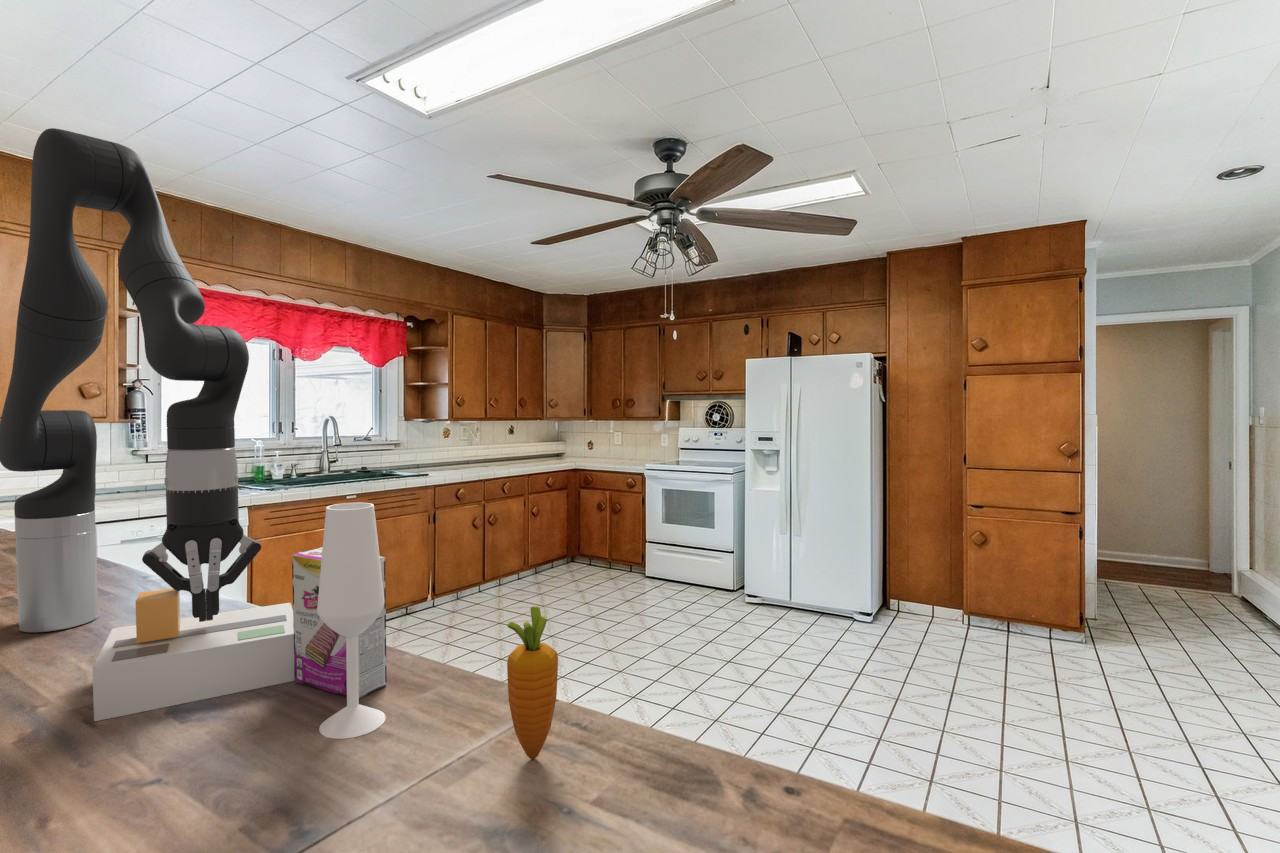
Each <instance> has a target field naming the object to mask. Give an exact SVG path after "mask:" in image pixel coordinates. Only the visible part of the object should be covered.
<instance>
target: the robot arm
mask: <svg viewBox="0 0 1280 853" xmlns="http://www.w3.org/2000/svg"><path fill="white" fill-rule="evenodd" d="M33 148H34V150H33V154H32V163H31V178H30V179H31V180H30V181H31V185H30V187H31V188H30V214H29V215H30V216H29V217H30V218H29V220H30V222H29V223H30V224H29V236H28V237H29V238H28V239H29V240H28V245H27V247H28V248H27V256H26V262H25V269H24V274H23V280H22V285H21V290H20V296H19V304H18V311H17V318H16V328H15V340H14V343H15V344H14V354H13V361H12V362H13V363H12V370H11V375H10V379H9V384H8V388H7V392H6V396H5V401H4V405H3V409H2V411H1V416H0V464H1V466H2V467H4V469H6V470H8V471H12V472H20V473H21V472H23V473H24V472H27V473H29V472H41V471H43V472H45V471H59V470H62V473H61V475H60V476H59V477H58V479H56V480H55V481H54V482H51V484H48V485H47V486H44V487H43V488H40V489H37V490H35V491H31V492H29V493H26V494H23V495H22V496H21V495H20V496H19V497H18V498H16V499H15V502H14V507H13V508H14V531H15V532H14V536H15V556H16V558H15V559H16V560H15V561H16V581H17V582H16V583H17V584H16V586H17V614H18V630H19V631H20V632H24V633H45V632H52V631H53V632H55V631H60V630H65V629H71V628H74V627H77V626H80V625H81V626H82V625H84V624H88V623H90V622H92V621H94V620H95V619H97V618H98V617H99V601H98V600H99V599H98V571H97V570H98V567H97V566H98V565H97V564H98V563H97V562H98V561H97V536H96V534H97V533H96V504H95V503H96V501H95V500H96V490H97V488H96V486H97V483H96V479H97V478H96V468H97V467H96V466H97V452H98V450H97V446H98V445H97V444H98V443H97V442H98V441H97V440H98V437H97V436H98V435H97V429H96V425H95V420H94V419H93V417H92V416H91V415H90V414H89V412H86V411H85V410H77V409H74V410H73V409H72V410H71V409H67V410H66V409H65V410H64V409H60V410H59V409H58V410H56V409H55V410H53V409H52V410H50V409H49V410H47V409H46V410H42V409H43V406H44V405H45V403H46V400H47V399H48V397H49V395H50V394H51V393H52V392H53V390H54V389H55V388H57V386H58V385H59V384H60V383H61V382H62V381H63V380H65V378H67V377H68V376H69V375H70V374H72V373H73V372H74V371H75V370H77V369H78V367H80V366H81V365H82V364H84V363H85V362H87V360H88V359H89V358H90V357H91V356H92V355H93V354H94V353H95V351H97V349H98V348H99V346H100V344H101V343H102V340H103V336H104V335H103V334H104V331H105V330H104V329H105V323H106V317H107V312H108V306H109V305H108V299H107V295H106V294H105V290H104V288H103V286H102V284H101V283H100V281H99V279H98V278H97V276H96V274H95V273H94V271H93V270H92V269H91V267H90V265H89V264H88V263H87V260H86V259H85V258H84V255H83V254H82V252H81V250H80V248H79V246H78V244H77V241H76V239H75V233H74V225H73V224H74V222H73V218H74V211H75V207H79V208H85V209H92V210H98V211H104V212H111V213H119V214H120V215H121V216H123V218H124V219H125V221H127V223H128V224H129V227H130V229H129V232H128V234H127V236H126V238H125V239H124V242H123V244H122V246H121V249H120V251H119V255H118V259H117V262H118V264H117V266H118V273H119V276H120V278H121V281H122V283H123V285H124V287H125V289H126V290H127V293H128V294H129V296H130V298H131V300H132V301H133V303H134V305H135V307H136V309H137V310H138V312H139V315H140V322H141V323H140V324H141V327H142V334H143V342H144V352H145V353H144V354H145V357H146V361H147V362H148V364H149V366H150V367H151V369H152V370H154V372H156V373H157V374H159V375H160V376H161V377H164V378H165V379H168V380H172V381H181V382H182V381H184V382H185V381H186V382H191V381H192V382H203V384H202V388H201V389H200V391H199V393H198V394H197V396H195V397H194V398H190V399H186V400H181V401H177V402H174V403H172V404H170V406H169V407H168V409H167V411H166V445H167V448H166V450H167V451H166V452H167V453H166V460H165V468H164V470H165V471H164V472H165V477H164V486H165V504H166V507H165V509H166V528H165V529H166V530H165V532H164V533H163V535H162V537H161V538H162V539H161V542H160V543H159V544H157V545H156V546H155V547H154V548H152V549H148V550H147V551H145V552H144V554H143V556H142V558H141V559H142V563H143V564H144V565H146V566H147V567H148V568H149V569H150V570H151V571H153V572H154V573H155V574H156V575H157V576H158V577H159V578H160V579H162V580H163V581H164V583H166V584H167V585H168V586H170V587H171V589H174V590H176V591H180V592H181V591H185V592H189V593H190V595H191V615H192V617H194V618H198V617H199V622H203V621H210V620H213V615H218V613H220V590H221V589H222V588H223V587H225V586H227V585H228V586H229V585H231V584H233V583H234V582H236V581H237V579H238V578H239V577H240V575H241V574H242V573H243V572H244V571H245V569H246V568H247V567H248V565H249V564H250V563H251V562H252V561H253V560H254V558H255V557H256V556H257V555H258V553H259V552H261V550H262V544H261V541H260V540H258V539H253V538H251V537H249V536H247V535H246V534H244V529H243V527H242V526H241V524H240V521H239V520H240V519H239V518H240V517H239V515H240V514H239V511H240V510H239V476H240V475H239V474H238V472H239V470H238V469H239V468H238V458H237V454H236V448H235V446H236V442H235V440H236V438H235V436H236V435H235V432H236V431H235V415H236V412H237V407H238V404H239V400H240V396H241V394H242V390H243V387H244V382H245V379H246V376H247V373H248V369H249V362H250V355H249V349H248V345H247V343H246V341H245V340H244V338H243V337H242V335H241V334H240V333H239V332H238V331H236V330H234V329H233V328H229V327H226V326H219V325H208V324H207V325H206V324H198V323H197V322H198V321H199V320H200V319H201V318H202V317H203V315H204V312H205V310H206V304H205V300H204V297H203V296H202V293H201V292H200V289H199V288H198V286H197V285H196V283H195V281H194V279H193V278H192V276H191V274H190V273H189V271H188V269H187V267H186V266H185V264H184V263H183V261H182V259H181V257H180V255H179V254H178V251H177V249H176V247H175V244H174V242H173V239H172V237H171V233H170V230H169V227H168V225H167V221H166V218H165V215H164V212H163V209H162V207H161V203H160V200H159V198H158V195H157V192H156V189H155V185H154V183H153V181H152V178H151V175H150V173H149V170H148V169H147V167H146V165H145V163H144V161H143V159H141V157H140V155H139V154H138V153H137V152H136V151H134V150H133V149H131V148H130V147H128V146H126V145H123V144H120V143H116V142H114V141H109V140H106V139H102V138H99V137H98V138H97V137H94V136H91V135H86V134H82V133H78V132H73V131H70V130H67V129H61V128H55V127H54V128H53V127H52V128H46V129H45V130H43V131H42V132H41V133H40V134H39V136H38V138H37V140H36V143H35V144H34V147H33ZM196 323H197V324H196ZM238 544H240V545H239V548H238V553H239V556H237V558H236V559H235V560H234V562H233V563H232V564H231V565H230V567H228V569H227V570H226V571H225V572H224V573H222V574H220V572H221V562H224V561H225V560H226V559H227V558H228V557H229V555H230V554H231V553H232V552H233V550H234V549H235V548H236V546H238ZM167 550H168V551H169V553H171V554H172V555H173V556H174V557H175V558H176V559H177V560H178V561H179V562H180V563H181V564H183V565H185V566H187V572H188V576H189V578H188V577H185V576H184V575H182V574H181V573H180V572H179V571H178V570H177V569H176V568H174V566H172V565H171V564H170V563H169V562H168V559H169V555H168V553H167ZM204 564H208V572H207V573H208V574H207V586H206V588H204V587H205V586H204V585H205V584H204V580H203V571H202V565H204Z"/></svg>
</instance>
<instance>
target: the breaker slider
mask: <svg viewBox="0 0 1280 853" xmlns="http://www.w3.org/2000/svg"><path fill="white" fill-rule="evenodd" d="M180 592H181V591H176V590H174V589H173V588H167V589H159V590H151V591H145V592H144V591H143V592H139V593H138V595H137V598H136V600H135V623H136V624H135V625H136V636H137V643H141V642H148V641H154V640H160V639H167V638H173V637H178V635H179V631H180V619H181V597H180Z"/></svg>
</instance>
